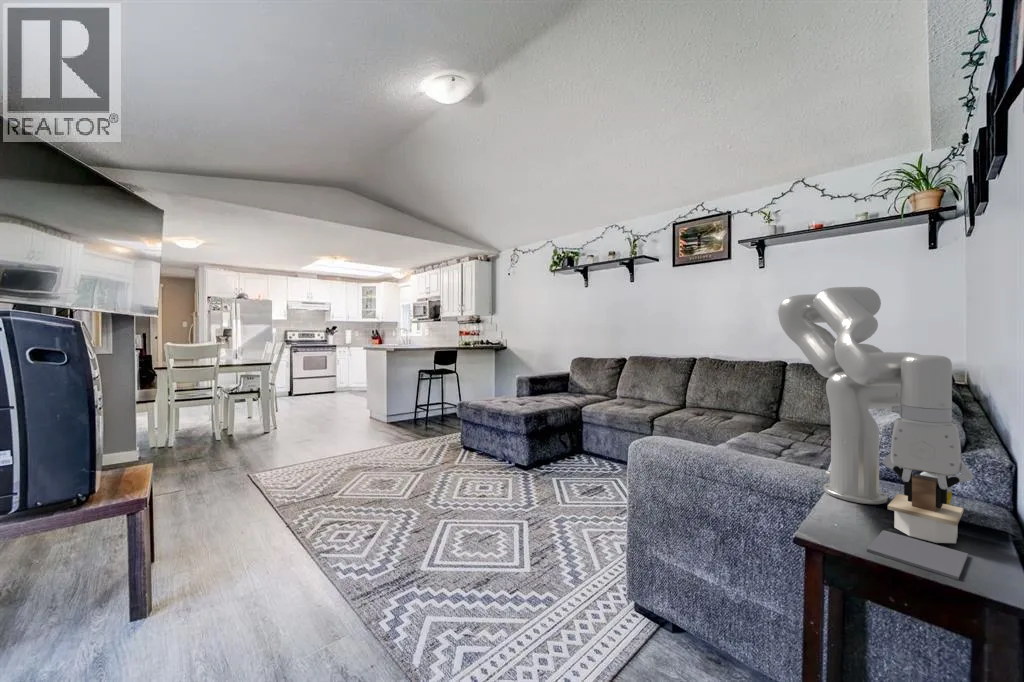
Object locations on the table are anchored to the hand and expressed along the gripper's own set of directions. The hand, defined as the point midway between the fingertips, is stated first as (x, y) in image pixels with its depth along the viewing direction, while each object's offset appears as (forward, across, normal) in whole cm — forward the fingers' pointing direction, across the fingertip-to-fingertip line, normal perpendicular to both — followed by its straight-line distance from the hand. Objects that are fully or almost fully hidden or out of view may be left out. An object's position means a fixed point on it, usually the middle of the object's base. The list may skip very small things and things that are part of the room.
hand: (925, 502), depth 87 cm
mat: (+6, +1, -13) cm, 14 cm away
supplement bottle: (+6, -1, +20) cm, 21 cm away
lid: (+2, 0, 0) cm, 2 cm away
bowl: (+6, 0, 0) cm, 6 cm away
